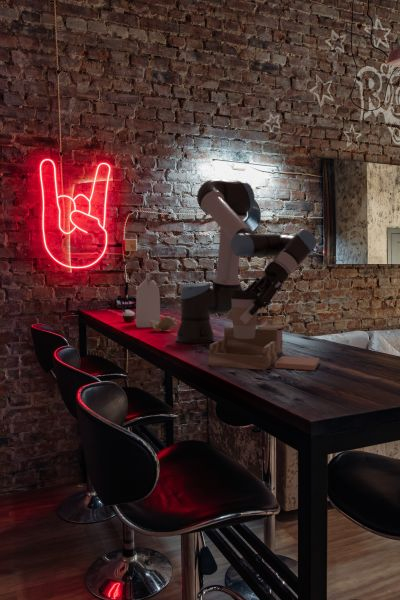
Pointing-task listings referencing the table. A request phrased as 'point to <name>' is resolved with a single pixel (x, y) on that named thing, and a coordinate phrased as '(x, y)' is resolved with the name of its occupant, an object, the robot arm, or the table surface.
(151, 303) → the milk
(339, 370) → the table surface
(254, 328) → the coffee cup
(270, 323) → the teacup with lid
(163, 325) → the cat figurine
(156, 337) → the table surface
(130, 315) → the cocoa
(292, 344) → the table surface
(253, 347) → the frame
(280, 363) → the terracotta tile
